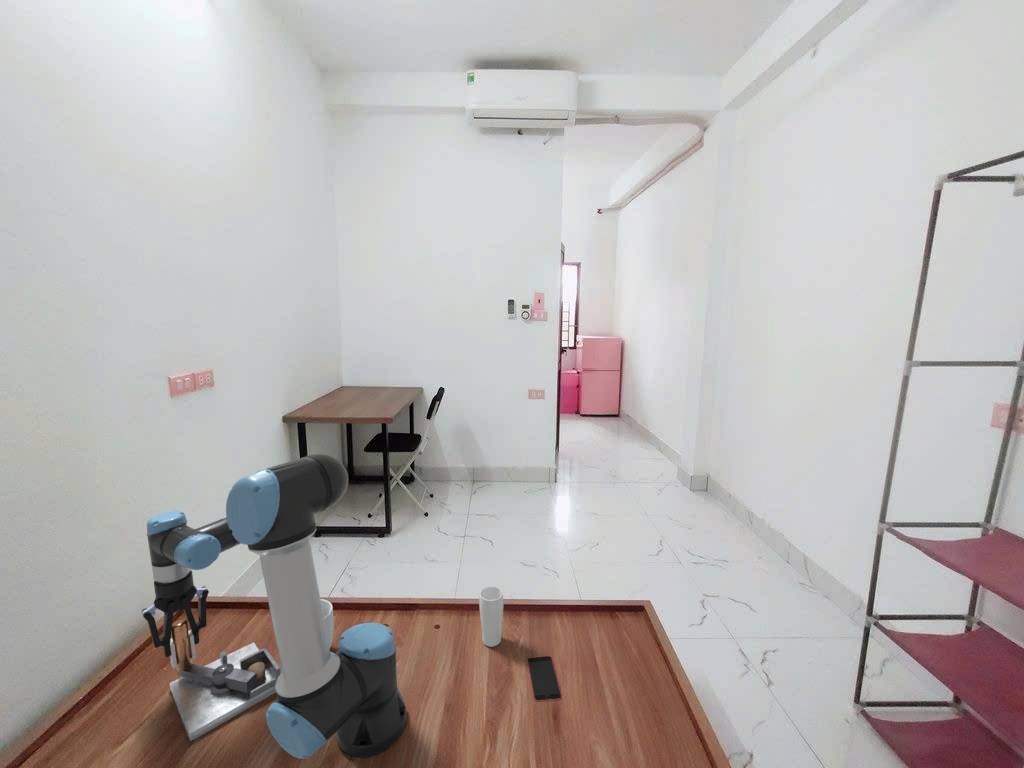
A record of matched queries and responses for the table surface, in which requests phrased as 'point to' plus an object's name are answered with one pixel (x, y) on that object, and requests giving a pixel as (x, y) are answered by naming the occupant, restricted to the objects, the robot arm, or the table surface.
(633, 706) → the table surface
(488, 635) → the white tall cup
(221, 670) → the lever
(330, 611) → the mug
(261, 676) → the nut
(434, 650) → the table surface
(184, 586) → the robot arm
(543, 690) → the smartphone
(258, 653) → the grey flat slab fixture
